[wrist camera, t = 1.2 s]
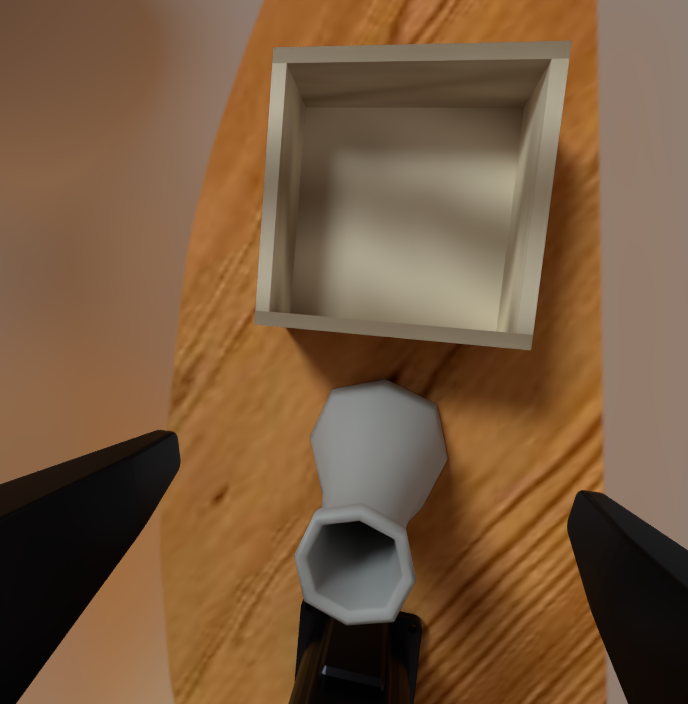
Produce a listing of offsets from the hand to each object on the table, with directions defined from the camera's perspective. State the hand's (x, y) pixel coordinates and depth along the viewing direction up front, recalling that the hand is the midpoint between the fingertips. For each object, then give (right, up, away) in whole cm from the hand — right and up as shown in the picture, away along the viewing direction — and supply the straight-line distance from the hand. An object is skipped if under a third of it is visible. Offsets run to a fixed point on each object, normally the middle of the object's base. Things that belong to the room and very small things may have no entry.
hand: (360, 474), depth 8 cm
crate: (+2, +9, +10) cm, 14 cm away
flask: (+1, -2, +11) cm, 12 cm away
